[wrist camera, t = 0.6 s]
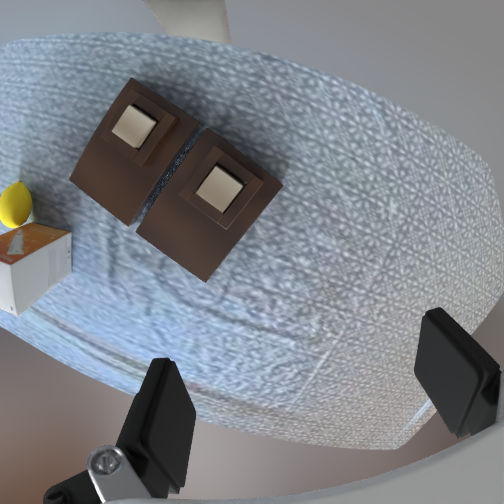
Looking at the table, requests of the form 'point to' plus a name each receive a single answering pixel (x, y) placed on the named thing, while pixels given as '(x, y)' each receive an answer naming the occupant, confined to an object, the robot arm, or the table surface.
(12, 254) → the small box
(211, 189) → the key
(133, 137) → the key
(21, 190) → the lemon
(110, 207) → the keys low
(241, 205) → the keys high
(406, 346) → the table surface
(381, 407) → the table surface
